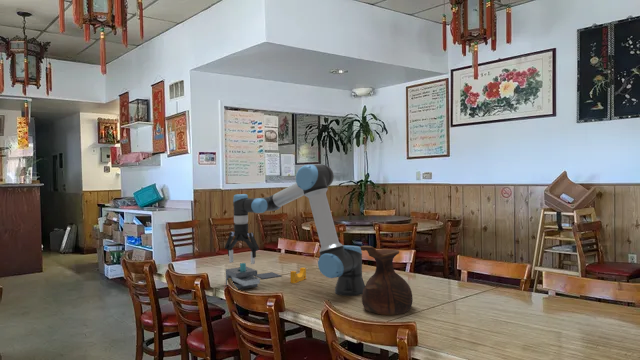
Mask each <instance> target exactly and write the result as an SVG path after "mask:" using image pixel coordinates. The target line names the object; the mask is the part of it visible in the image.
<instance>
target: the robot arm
mask: <svg viewBox="0 0 640 360" xmlns="http://www.w3.org/2000/svg"><path fill="white" fill-rule="evenodd" d="M334 177H335V176H334V172H333V170H332V168H331V167H330V166H328V165H326V164H309V163H308V164H305V165H303V166H301V167H299V169H298V170H297V172H296V174H295V183H294V184H292V185H289V186H288V187H286V188H284V189H282V190H279V191H277V192H276V193H274V194H272V195H270V196H264V197H251V198H249V196H248V194H246V193H242V194H241V193H240V194H238V193H237V194H234V195H233V201H232V203H233V231H229V234H228V238H227V241H226V243H225V246H224V249H225V250H227V255H228V260H229V262H228V263H229V264H230V263H234V249H233V248H234V247H235V245H236V244H237V243H238V242H244V243H245V244H246V245H247V246H248V248H249V249H250V250H251V251H250V265H254V264H256V260H255V259H256V257H257V251H260V247H259V246H258V243H257V241H256V239H255V236H254V235H255V234H254V232H249V223H248V222H249V213H253V214H262V213H266V212H274V211H277V210H280V209H281V207H283V206H285V205H286V204H289V203H290V202H293V201H296V200H297V199H299V198H301V197H303V196H304V197H306V198H308V202H309V205H310V209H311V213H312V217H313V220H314V225H315V229H316V233H317V235H318V240H319V243H320V249H319V250H318V251H319V257H318V260H317V266H318V267H317V268H318V270H319V272H320V273H321V274H322V275H323V276H325V277H326V278H329V279H335V278H336V279H337V281H336V284H335V287H334V293H335V295H339V296H343V297H344V296H345V297H352V296H355V297H356V296H362V294H363V290H364V287H365V285H366V283H365V281H364V278H363V252H362V251H363V250H361V246H358V245H348V244H347V245H345V244H344V245H343V244H342V243H341V242H340V241H339V237H338V233H337V230H336V227H335V222H334V220H333V216H332V215H333V214H332V212H331V207H330V205H329V199H328V197H327V196H328V195H327V191H328V189H329V186H331V185H332V184H333V182H334Z"/></svg>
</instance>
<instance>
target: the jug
mask: <svg viewBox="0 0 640 360" xmlns="http://www.w3.org/2000/svg"><path fill="white" fill-rule="evenodd" d="M360 247H361V250H362V251H363V252H364V251H367V253H368V256H369V257H371V258H373V259H374V260H375V266H376V268H375V271H374V273H373V274H372V275H371V276H370V278H368V280H367V281H366V282H365V287H364V290H363V294H362V295H361V304H362V306H363V309H364V310H365V311H367V312H369V313H372V314H376V315H381V316H397V315H402V314H405V313H407V312H408V311H409V310H410V309H412V305H413V293H412V289H411V286H410V285H409V283H408V282H407V281H406V279H404V278H403V277H402V276H401V275H400V274H399V273H397V272H396V271H395V268H394V264H393V262H394V259H395V257H396V256H397V255H399V253H400V251H399V250H398V249H387V248H386V249H385V248H381V249H376V248H375V247H373V246H371V245H361V246H360Z"/></svg>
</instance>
